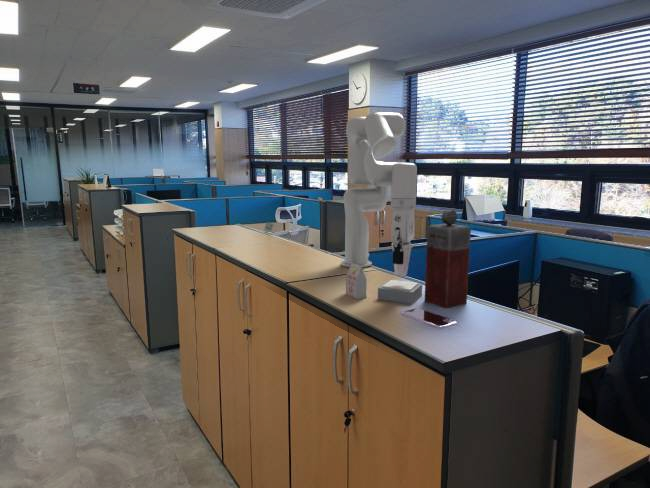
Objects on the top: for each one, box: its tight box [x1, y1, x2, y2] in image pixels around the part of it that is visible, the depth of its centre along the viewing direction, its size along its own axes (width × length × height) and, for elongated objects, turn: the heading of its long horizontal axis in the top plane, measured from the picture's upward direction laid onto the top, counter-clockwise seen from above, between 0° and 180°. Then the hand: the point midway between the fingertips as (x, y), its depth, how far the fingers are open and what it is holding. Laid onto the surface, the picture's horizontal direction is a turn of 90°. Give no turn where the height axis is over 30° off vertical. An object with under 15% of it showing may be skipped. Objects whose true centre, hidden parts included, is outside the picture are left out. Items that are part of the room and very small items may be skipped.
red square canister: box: [424, 209, 472, 309], centre depth 142 cm, size 9×11×28 cm
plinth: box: [377, 279, 423, 305], centre depth 149 cm, size 11×11×4 cm
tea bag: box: [345, 263, 367, 300], centre depth 149 cm, size 4×7×10 cm, turn 26°
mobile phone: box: [399, 307, 459, 329], centre depth 128 cm, size 8×1×15 cm
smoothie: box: [391, 240, 413, 276], centre depth 147 cm, size 6×6×14 cm
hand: (401, 261), depth 147 cm, fingers closed on smoothie, 6 cm apart
